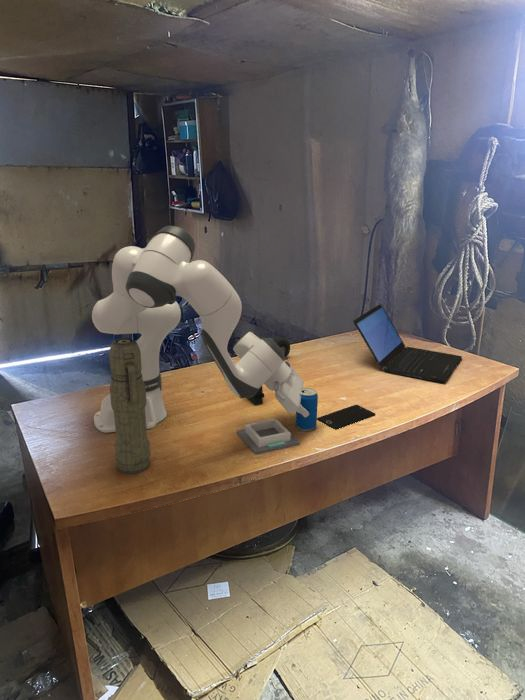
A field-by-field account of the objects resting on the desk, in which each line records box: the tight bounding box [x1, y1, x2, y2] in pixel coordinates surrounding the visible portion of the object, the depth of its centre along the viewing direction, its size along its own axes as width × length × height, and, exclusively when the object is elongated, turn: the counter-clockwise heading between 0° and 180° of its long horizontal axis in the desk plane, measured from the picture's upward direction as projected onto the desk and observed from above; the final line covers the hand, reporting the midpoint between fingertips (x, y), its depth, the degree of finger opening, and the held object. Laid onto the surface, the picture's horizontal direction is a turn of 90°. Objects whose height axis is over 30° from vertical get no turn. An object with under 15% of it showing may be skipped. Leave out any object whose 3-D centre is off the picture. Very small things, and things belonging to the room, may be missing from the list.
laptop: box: [353, 303, 463, 384], centre depth 217 cm, size 33×38×19 cm
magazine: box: [247, 385, 265, 406], centre depth 183 cm, size 4×13×15 cm, turn 27°
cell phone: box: [317, 404, 376, 431], centre depth 171 cm, size 9×18×1 cm, turn 126°
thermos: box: [108, 337, 151, 475], centre depth 137 cm, size 9×12×35 cm
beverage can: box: [295, 387, 319, 432], centre depth 163 cm, size 6×6×12 cm
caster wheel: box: [273, 337, 291, 360], centre depth 218 cm, size 6×10×15 cm
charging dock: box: [236, 418, 301, 455], centre depth 157 cm, size 14×14×3 cm
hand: (308, 408), depth 162 cm, fingers open, 8 cm apart
